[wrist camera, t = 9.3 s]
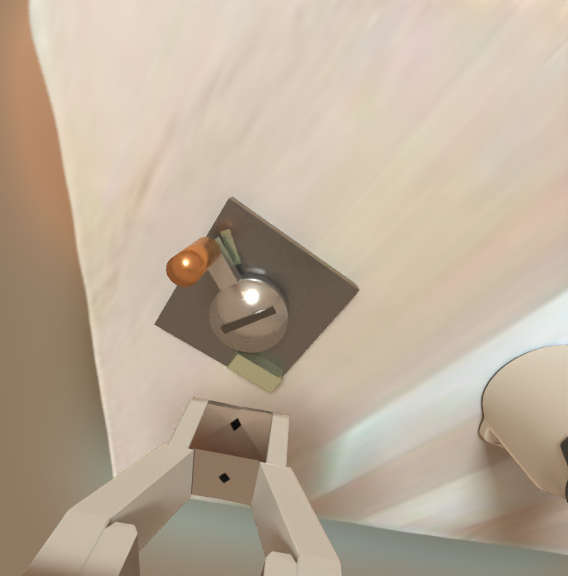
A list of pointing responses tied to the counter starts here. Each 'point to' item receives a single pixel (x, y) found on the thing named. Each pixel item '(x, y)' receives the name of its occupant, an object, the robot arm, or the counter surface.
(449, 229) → the counter surface
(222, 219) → the plate
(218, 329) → the copper silver knob
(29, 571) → the robot arm
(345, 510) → the counter surface
